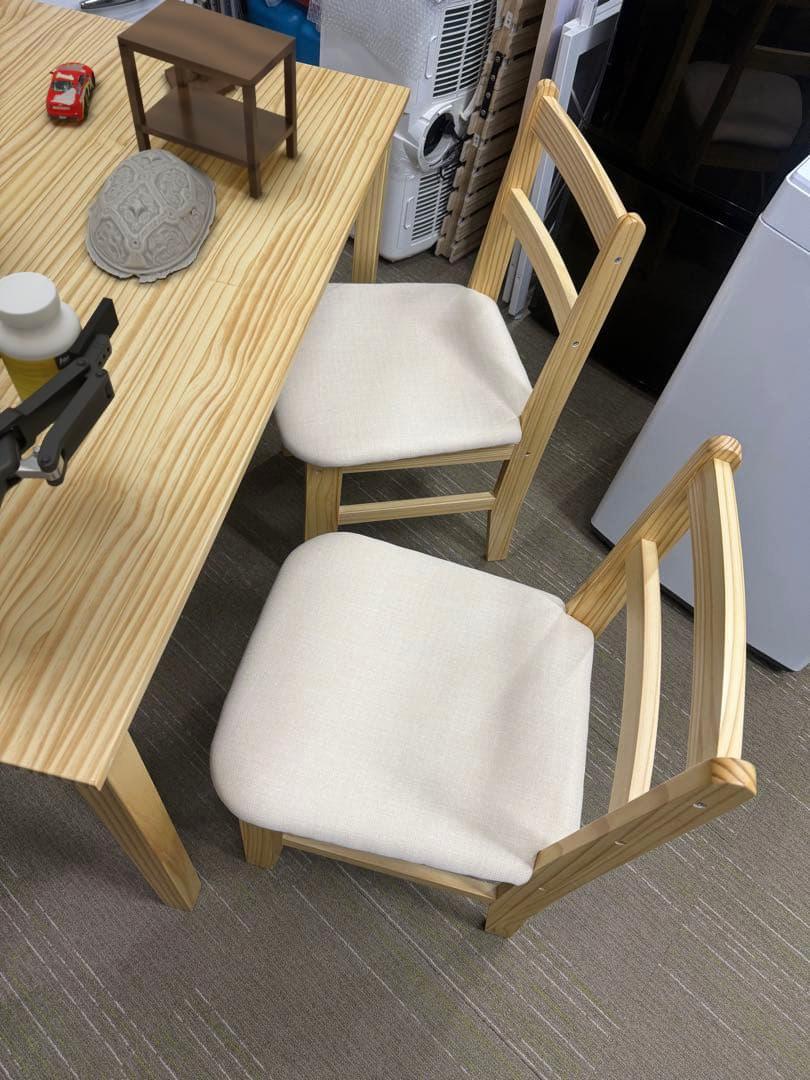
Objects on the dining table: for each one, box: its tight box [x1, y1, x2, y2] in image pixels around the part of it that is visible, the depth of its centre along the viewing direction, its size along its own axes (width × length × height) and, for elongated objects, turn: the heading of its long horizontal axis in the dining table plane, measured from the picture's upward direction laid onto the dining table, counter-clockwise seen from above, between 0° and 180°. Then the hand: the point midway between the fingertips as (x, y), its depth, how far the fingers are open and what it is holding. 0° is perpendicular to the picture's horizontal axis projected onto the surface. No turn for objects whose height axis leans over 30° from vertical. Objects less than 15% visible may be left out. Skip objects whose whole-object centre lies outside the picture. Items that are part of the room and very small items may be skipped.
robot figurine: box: [163, 0, 236, 96], centre depth 113 cm, size 11×9×12 cm
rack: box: [116, 0, 298, 200], centre depth 102 cm, size 12×18×16 cm, turn 68°
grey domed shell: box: [84, 148, 217, 284], centre depth 98 cm, size 16×25×7 cm, turn 178°
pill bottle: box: [0, 271, 83, 425], centre depth 63 cm, size 6×6×12 cm
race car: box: [45, 62, 96, 123], centre depth 111 cm, size 13×5×4 cm, turn 2°
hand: (69, 301), depth 65 cm, fingers closed on pill bottle, 6 cm apart
